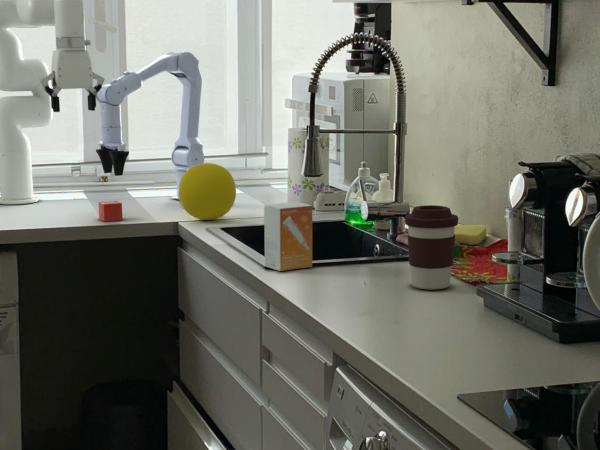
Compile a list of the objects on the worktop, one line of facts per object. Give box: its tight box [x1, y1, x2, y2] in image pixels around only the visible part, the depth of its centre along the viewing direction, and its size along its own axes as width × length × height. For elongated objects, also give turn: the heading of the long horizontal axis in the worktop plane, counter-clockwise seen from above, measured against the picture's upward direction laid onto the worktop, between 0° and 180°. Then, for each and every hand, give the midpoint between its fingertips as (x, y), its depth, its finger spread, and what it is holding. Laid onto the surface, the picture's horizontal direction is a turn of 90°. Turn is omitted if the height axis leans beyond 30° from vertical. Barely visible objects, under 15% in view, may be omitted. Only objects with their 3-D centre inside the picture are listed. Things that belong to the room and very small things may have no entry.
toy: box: [179, 162, 237, 221], centre depth 277 cm, size 15×15×15 cm
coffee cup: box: [404, 204, 459, 291], centre depth 197 cm, size 10×10×15 cm
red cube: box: [98, 200, 123, 223], centre depth 280 cm, size 5×5×5 cm
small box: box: [263, 201, 313, 272], centre depth 215 cm, size 8×6×13 cm
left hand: (74, 111), depth 273 cm, fingers open, 9 cm apart
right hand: (113, 174), depth 300 cm, fingers open, 7 cm apart
